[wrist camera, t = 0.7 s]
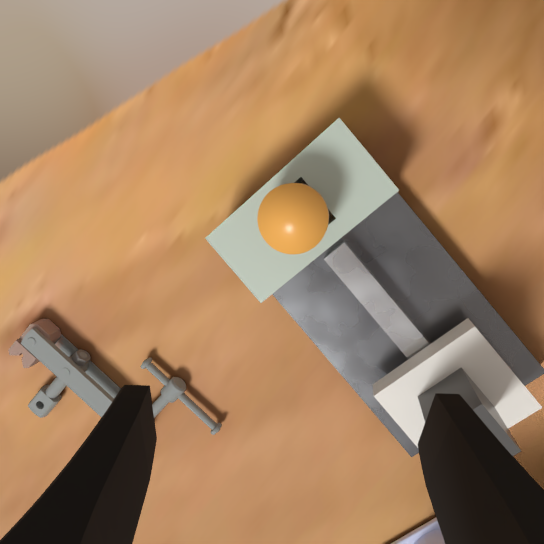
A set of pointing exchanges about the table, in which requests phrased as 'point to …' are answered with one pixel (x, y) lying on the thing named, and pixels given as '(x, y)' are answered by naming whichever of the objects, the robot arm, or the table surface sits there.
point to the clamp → (86, 374)
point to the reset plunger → (293, 218)
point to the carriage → (457, 385)
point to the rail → (391, 303)
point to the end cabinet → (333, 188)
